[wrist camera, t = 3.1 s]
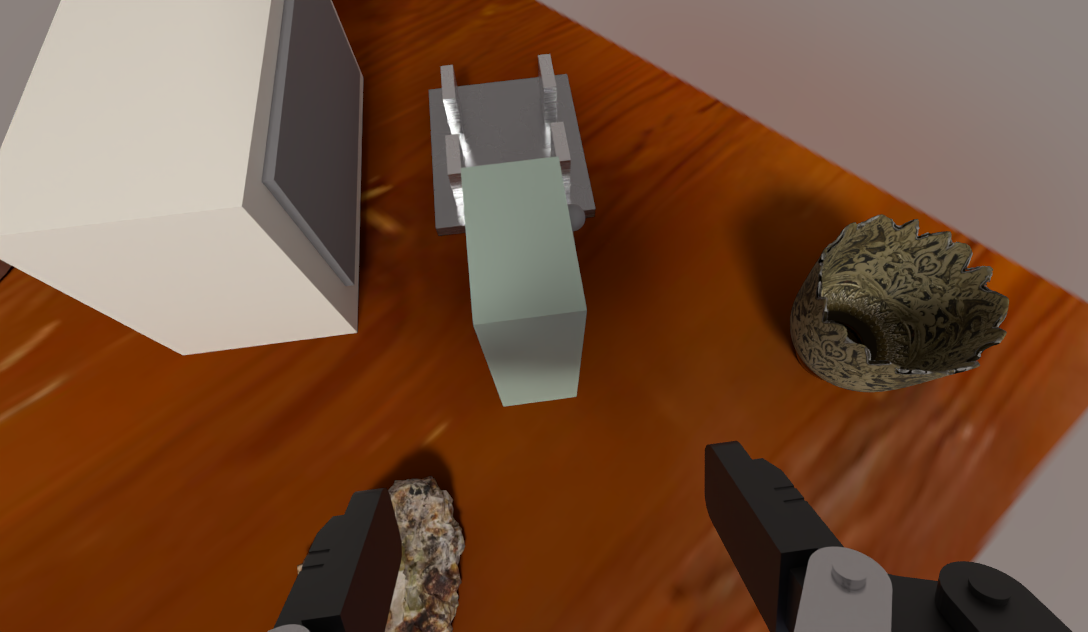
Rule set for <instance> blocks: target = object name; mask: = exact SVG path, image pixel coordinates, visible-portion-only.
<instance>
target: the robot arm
mask: <svg viewBox="0 0 1088 632" xmlns="http://www.w3.org/2000/svg"><path fill="white" fill-rule="evenodd" d="M11 266H12V265H10V264H8V263H6V262H4V261H2V260H0V279H1V278H2V277H3V276H4V275H5V274H6V273H7V271H8V270H9V269H10V267H11ZM705 501H706V506H707V510H708V513H709V516H710V519H711V521H712V523H713V525H714V527H715V529H716V530H717V532H718V534H719V536H720V538H721V540H722V542H723V544H724V546H725V547H726V549H727V551H728V553H729V555H730V557H731V559H732V561H733V563H734V564H735V566H736V568H737V570H738V572H739V574H740V576H741V578H742V580H743V581H744V583H745V585H746V587H747V589H748V591H749V593H750V595H751V597H752V598H753V600H754V602H755V604H756V606H757V608H758V610H759V612H760V614H761V615H762V617H763V619H764V621H765V623H766V625H767V627H768V629H769V631H770V632H1072V631H1071V630H1070V629H1069V628H1068V627H1067V626H1065V624H1064V623H1063V622H1062V621H1061V620H1059V619H1058V618H1057V617H1056V616H1055V615H1054V614H1053V613H1052V612H1051V611H1050V610H1049V609H1048V608H1047V607H1046V606H1045V605H1044V604H1043V603H1041V602H1040V601H1039V600H1038V599H1037V598H1036V597H1035V596H1034V595H1033V594H1032V593H1031V592H1030V591H1029V590H1028V589H1027V588H1026V587H1024V586H1023V585H1022V584H1021V583H1019V582H1018V581H1016V580H1015V579H1013V578H1012V577H1010V576H1009V575H1007V574H1005V573H1003V572H1001V571H999V570H997V569H994V568H992V567H989V566H986V565H983V564H979V563H974V562H966V561H961V562H953V563H950V564H947V565H946V566H944V567H943V568H942V569H941V571H940V574H939V579H938V581H933V580H925V579H917V578H909V577H901V576H895V575H891V574H887V573H886V572H885V570H884V569H883V568H882V567H881V566H880V565H879V564H878V563H877V562H875V561H874V560H873V559H871V558H870V557H868V556H866V555H864V554H862V553H860V552H858V551H855V550H852V549H848V548H844V547H843V545H842V544H841V543H840V542H839V540H838V539H837V538H836V537H835V536H834V534H833V533H832V532H831V531H830V529H829V528H828V527H827V526H826V524H825V523H824V522H823V521H822V520H821V518H820V517H819V516H818V515H817V513H816V512H815V511H814V510H813V508H812V507H811V506H810V505H809V504H808V502H807V501H804V497H803V496H802V495H801V494H800V492H799V491H798V490H797V489H796V488H794V485H793V484H792V483H791V481H790V480H789V479H788V478H787V476H786V475H785V474H784V473H783V472H782V470H780V469H779V468H777V467H776V466H774V465H772V464H771V463H769V462H768V461H766V460H764V459H763V458H761V459H754V460H752V459H751V458H750V456H749V455H748V454H747V452H746V451H745V450H744V448H743V447H742V446H741V444H740V443H739V442H738V441H731V442H724V443H717V444H709V445H707V446H706V448H705ZM401 558H402V542H401V536H400V532H399V528H398V524H397V520H396V516H395V512H394V509H393V505H392V501H391V497H390V494H389V491H388V489H387V488H380V489H372V490H365V491H358V492H355V493H354V494H353V495H352V497H351V500H350V502H349V505H348V507H347V510H346V512H345V514H344V515H340V516H333V517H332V518H331V519H330V520H329V521H328V522H327V524H326V525H325V526H324V527H323V528H322V529H321V530H320V531H319V532H318V533H317V535H316V537H315V539H314V542H313V544H312V546H311V548H310V550H309V555H307V557H306V559H305V561H304V563H303V565H302V571H300V572H299V574H298V576H297V579H296V581H295V583H294V585H293V587H292V589H291V592H290V594H289V596H288V598H287V600H286V602H285V605H284V607H283V609H282V611H281V613H280V615H279V618H278V620H277V622H276V624H275V626H274V628H273V629H272V630H270V631H268V632H385V628H386V624H387V620H388V615H389V611H390V607H391V603H392V598H393V594H394V590H395V586H396V582H397V577H398V573H399V569H400V565H401Z"/></svg>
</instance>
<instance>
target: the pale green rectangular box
mask: <svg viewBox="0 0 1088 632" xmlns="http://www.w3.org/2000/svg"><path fill="white" fill-rule="evenodd" d="M461 179H462V192H463V204H464V217H465V229H466V242H467V254H468V267H469V279H470V292H471V304H472V317H473V326H474V329H475V331H476V334H477V337H478V339H479V342H480V345H481V347H482V350H483V353H484V355H485V358H486V361H487V364H488V366H489V369H490V372H491V374H492V377H493V380H494V382H495V385H496V388H497V391H498V393H499V396H500V399H501V401H502V404H503V406H511V405H518V404H526V403H533V402H540V401H548V400H555V399H563V398H570V397H576V396H577V388H578V379H579V371H580V363H581V355H582V347H583V338H584V330H585V322H586V314H587V308H586V302H585V297H584V292H583V286H582V281H581V275H580V270H579V265H578V259H577V254H576V248H575V243H574V237H573V232H572V231H576V230H578V229H580V228H581V227H582V226H583V224H584V222H585V213H584V211H583V209H582V208H581V207H580V206H578V205H576V204H567V199H566V194H565V189H564V183H563V178H562V172H561V167H560V161H559V156H557V157H549V158H540V159H532V160H524V161H515V162H507V163H498V164H490V165H482V166H473V167H465V168H461Z"/></svg>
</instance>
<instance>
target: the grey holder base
mask: <svg viewBox="0 0 1088 632" xmlns="http://www.w3.org/2000/svg"><path fill="white" fill-rule="evenodd" d="M538 70H539V77H536V78H528V79H519V80H510V81H501V82H493V83H484V84H475V85H466V86H458V87H457V82H456V77H455V73H454V68H453V65H447V66H441V81H442V88H440V89H432V90H429V104H430V123H431V143H432V163H433V182H434V202H435V221H436V230H437V233H438V236H442V235H450V234H458V233H466V229H465V217H464V204H463V192H462V179H461V168H465V167H473V166H482V165H490V164H498V163H507V162H515V161H524V160H532V159H540V158H549V157H557V156H559V161H560V167H561V172H562V178H563V183H564V189H565V194H566V199H567V204H576V205H578V206H580V207H581V208H582V209H583V211H584V213H585V218H587V217H595V204H594V199H593V195H592V190H591V185H590V180H589V176H588V171H587V166H586V162H585V157H584V152H583V147H582V143H581V138H580V133H579V128H578V124H577V119H576V114H575V110H574V105H573V100H572V95H571V91H570V86H569V81H568V77H567V74H563V75H554V72H553V67H552V61H551V56H550V54H544V55H538Z"/></svg>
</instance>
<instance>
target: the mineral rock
mask: <svg viewBox="0 0 1088 632" xmlns="http://www.w3.org/2000/svg"><path fill="white" fill-rule="evenodd" d="M388 491H389V494H390V497H391V501H392V505H393V509H394V512H395V516H396V520H397V524H398V528H399V532H400V536H401V542H402V558H401V565H400V569H399V573H398V577H397V582H396V586H395V590H394V594H393V598H392V603H391V607H390V611H389V615H388V620H387V624H386V628H385V632H452V630H453V628H452V626H451V621H452V620H453V618H454V616H455V615H456V608H457V606H458V594H457V590H458V587H459V585H460V584H461V583H462V582H461V579H460V574H459V569H458V563H459V559H460V554H461V553H462V552H463V550H464V547H465V544H464V539H463V535H462V532H461V530H462V528H461V527H460V526H459V523H458V522H456V521H455V520H454V518H453V506H452V502H453V499H452V497H451V496H450V495H449V493H448V492H447V491H446V490H441V489H440V488H439V486H438V485H437V483H436V480H435V478H434V479H433V477H432V476H429V477H426V478H423V479H410V480H409V479H407V480H395V481H394V485H393V486H392V487H391V488H390V489H389V490H388ZM308 555H309V553H308ZM306 557H307V556H306ZM305 559H306V558H305ZM305 559H304V561H305ZM303 563H304V562H303ZM303 563H302V564H300V565H297V568H298V574H299V572H300V571H302V565H303Z"/></svg>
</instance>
